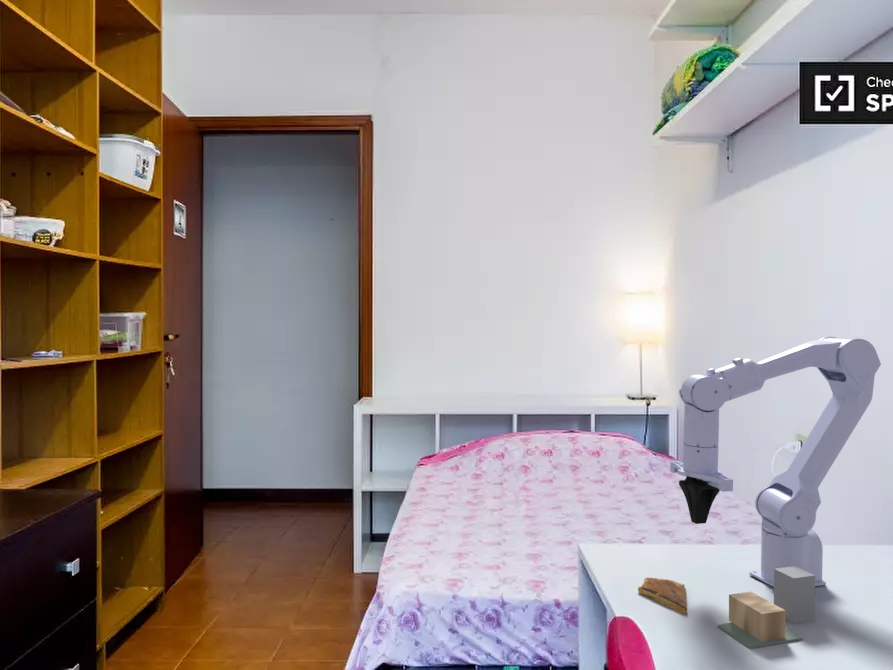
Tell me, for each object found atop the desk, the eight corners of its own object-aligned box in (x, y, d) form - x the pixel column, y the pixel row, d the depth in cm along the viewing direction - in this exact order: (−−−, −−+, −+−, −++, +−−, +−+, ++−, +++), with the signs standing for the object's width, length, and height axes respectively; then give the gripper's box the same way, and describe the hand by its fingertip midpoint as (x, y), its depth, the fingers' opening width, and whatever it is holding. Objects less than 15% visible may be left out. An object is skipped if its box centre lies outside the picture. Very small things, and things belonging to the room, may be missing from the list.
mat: (767, 618, 107) (767, 616, 107) (802, 639, 100) (802, 637, 100) (717, 626, 104) (717, 624, 104) (750, 648, 97) (750, 646, 97)
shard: (687, 618, 108) (687, 607, 108) (636, 612, 111) (636, 600, 110) (685, 591, 119) (685, 581, 118) (639, 586, 121) (639, 575, 121)
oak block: (751, 591, 106) (785, 610, 100) (750, 617, 107) (785, 637, 100) (729, 594, 105) (762, 614, 99) (728, 620, 106) (761, 641, 99)
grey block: (794, 609, 110) (795, 566, 110) (814, 620, 106) (815, 575, 106) (773, 612, 109) (774, 568, 109) (793, 624, 105) (793, 578, 105)
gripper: (656, 438, 126) (654, 512, 127) (708, 454, 112) (705, 537, 113) (689, 436, 128) (688, 509, 129) (744, 452, 114) (742, 533, 115)
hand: (698, 522), depth 121 cm, fingers closed
